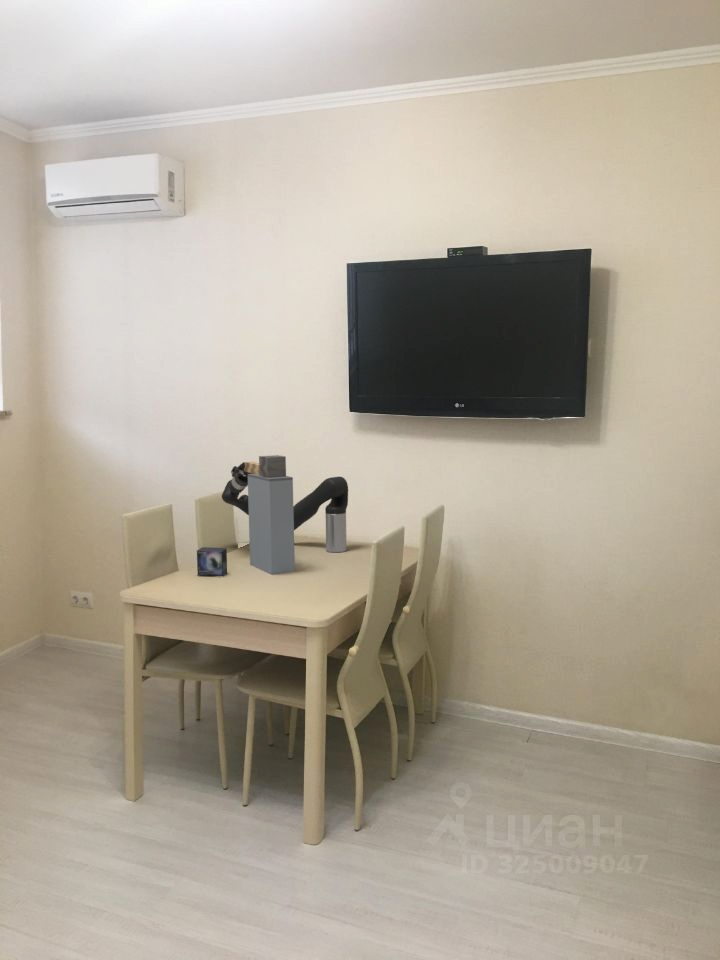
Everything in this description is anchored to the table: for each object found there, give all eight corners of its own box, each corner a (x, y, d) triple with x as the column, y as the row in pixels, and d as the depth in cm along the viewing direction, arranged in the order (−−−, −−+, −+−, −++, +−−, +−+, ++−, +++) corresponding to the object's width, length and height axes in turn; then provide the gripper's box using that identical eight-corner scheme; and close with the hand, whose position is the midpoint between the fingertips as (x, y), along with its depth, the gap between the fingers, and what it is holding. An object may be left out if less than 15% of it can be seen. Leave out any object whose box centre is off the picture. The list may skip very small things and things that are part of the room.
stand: (250, 564, 340) (247, 474, 335) (272, 561, 345) (269, 472, 340) (271, 574, 321) (269, 479, 317) (294, 571, 326) (292, 477, 322)
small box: (196, 576, 320) (195, 550, 319) (202, 572, 327) (201, 546, 325) (222, 577, 318) (221, 550, 317) (228, 573, 325) (227, 547, 323)
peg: (239, 471, 345) (239, 452, 344) (257, 470, 349) (256, 451, 349) (267, 477, 321) (267, 457, 320) (286, 476, 325) (285, 456, 324)
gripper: (259, 485, 358) (271, 471, 344) (228, 487, 351) (239, 473, 338) (256, 469, 360) (268, 455, 347) (225, 471, 354) (236, 456, 340)
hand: (253, 464), depth 342 cm, fingers open, 8 cm apart
